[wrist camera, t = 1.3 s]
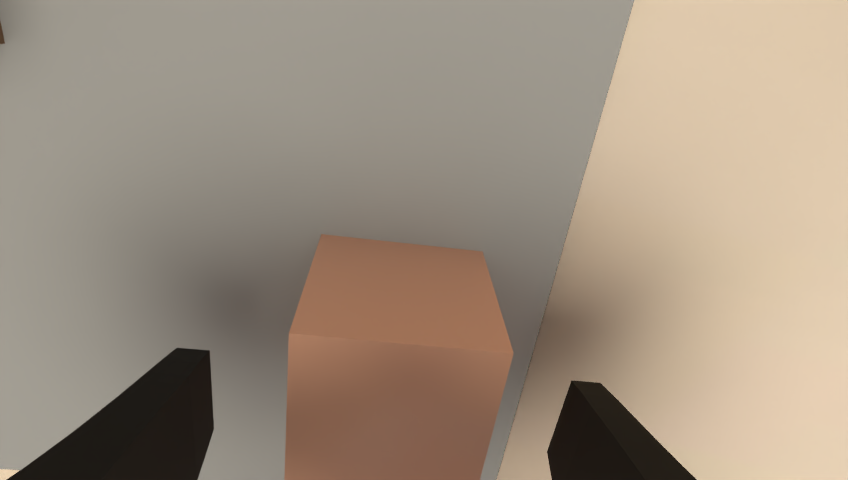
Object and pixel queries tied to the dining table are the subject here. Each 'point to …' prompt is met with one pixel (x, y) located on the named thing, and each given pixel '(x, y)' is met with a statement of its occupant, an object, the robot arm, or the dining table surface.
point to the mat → (269, 184)
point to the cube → (394, 363)
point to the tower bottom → (1, 35)
